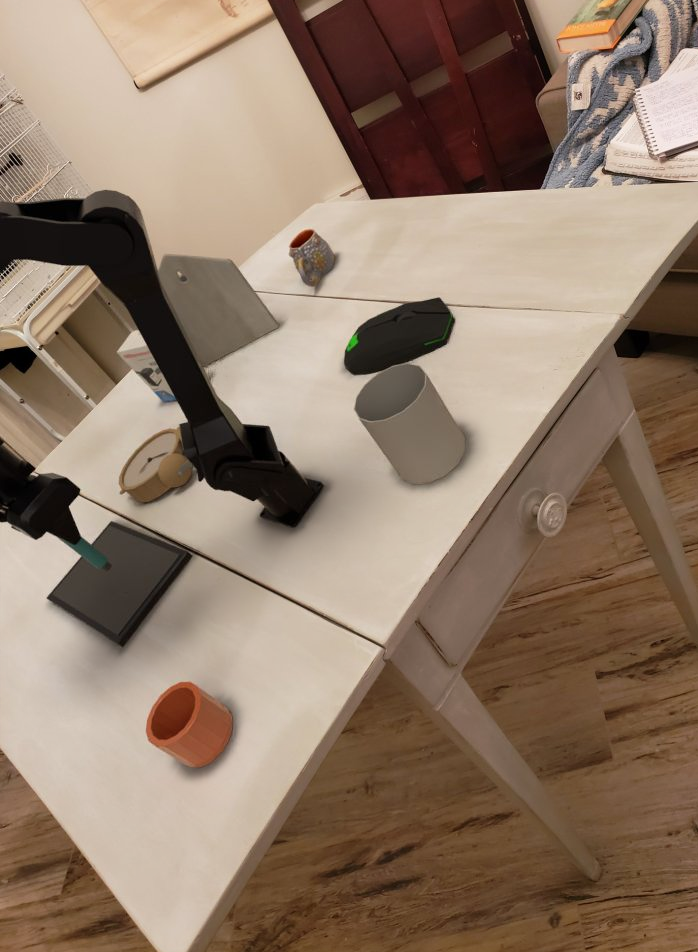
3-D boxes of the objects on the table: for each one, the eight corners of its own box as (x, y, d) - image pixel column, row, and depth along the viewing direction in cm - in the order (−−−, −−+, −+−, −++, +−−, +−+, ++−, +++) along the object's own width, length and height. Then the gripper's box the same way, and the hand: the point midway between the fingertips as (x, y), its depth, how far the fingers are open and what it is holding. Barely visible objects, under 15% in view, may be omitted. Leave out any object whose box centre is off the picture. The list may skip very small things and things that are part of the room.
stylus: (116, 563, 82) (44, 505, 76) (106, 575, 82) (33, 518, 75) (109, 560, 84) (38, 503, 77) (100, 571, 83) (27, 515, 76)
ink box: (162, 403, 121) (114, 352, 114) (176, 382, 124) (130, 331, 117) (196, 398, 116) (148, 344, 109) (211, 376, 119) (164, 323, 112)
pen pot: (244, 718, 68) (211, 694, 65) (204, 778, 65) (169, 757, 62) (208, 695, 72) (176, 672, 69) (169, 751, 69) (135, 730, 66)
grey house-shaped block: (280, 303, 125) (212, 208, 113) (279, 327, 119) (208, 229, 107) (203, 345, 129) (130, 257, 117) (198, 369, 123) (121, 280, 111)
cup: (444, 488, 75) (402, 424, 69) (384, 480, 81) (340, 420, 75) (477, 428, 79) (439, 362, 73) (418, 424, 84) (378, 363, 78)
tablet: (193, 555, 88) (187, 550, 88) (122, 647, 83) (116, 643, 82) (115, 524, 102) (110, 520, 101) (51, 601, 97) (45, 597, 96)
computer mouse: (349, 337, 106) (335, 317, 103) (452, 294, 100) (440, 271, 98) (344, 386, 98) (329, 365, 95) (456, 342, 92) (443, 318, 90)
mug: (307, 265, 130) (287, 235, 126) (340, 251, 128) (320, 220, 124) (295, 304, 122) (274, 272, 118) (330, 289, 119) (309, 257, 115)
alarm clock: (135, 441, 110) (199, 405, 102) (160, 460, 112) (224, 427, 104) (105, 498, 102) (171, 464, 94) (133, 517, 105) (199, 486, 97)
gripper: (-133, 497, 73) (-11, 580, 82) (-78, 533, 60) (59, 626, 70) (-49, 416, 78) (57, 503, 87) (17, 433, 65) (134, 533, 74)
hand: (74, 539), depth 79 cm, fingers closed on stylus, 1 cm apart
